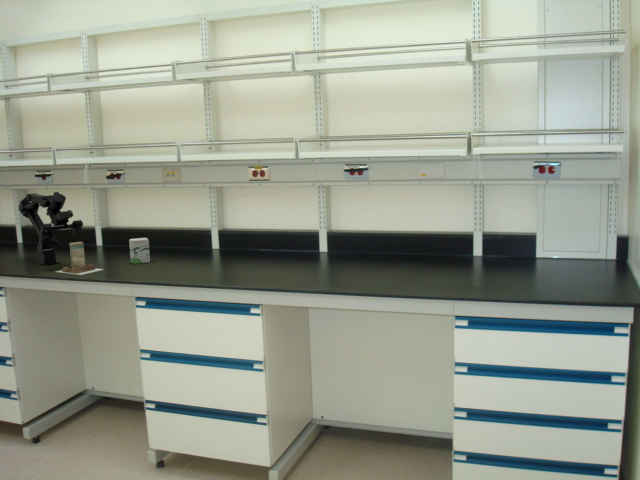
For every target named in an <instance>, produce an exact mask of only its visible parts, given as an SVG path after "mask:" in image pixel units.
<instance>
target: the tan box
mask: <svg viewBox="0 0 640 480" xmlns="http://www.w3.org/2000/svg"><path fill="white" fill-rule="evenodd" d="M69 251H70V252H69V253H70V263H71V264H70V266H72V268H75V269H78V268H82V267H85V264H86V259H85V258H86V257H85V246H84V242H82V241H77V242H76V241H75V242H69Z"/></svg>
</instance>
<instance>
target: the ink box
mask: <svg viewBox="0 0 640 480" xmlns="http://www.w3.org/2000/svg"><path fill="white" fill-rule="evenodd" d="M128 244H129V259H130V260H129V261H130V264H133V265H135V264H136V265H137V264H144V263H145V264H146V263H150V262H151V257H150V255H151V254H150V240H149V238H148V237H138V238H130V239H129V240H128Z"/></svg>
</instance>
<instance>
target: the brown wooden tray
mask: <svg viewBox="0 0 640 480" xmlns="http://www.w3.org/2000/svg"><path fill="white" fill-rule="evenodd" d="M95 266H96V265H95V264H86V263H85V267H82V268H78V269H75V268H72V265H68V266H63V267H61V270H62V272H67V273H66V274H69V273H75V274H74V275H77V274H78V273H82V272H86V271H91V270H95V268H96V267H95Z"/></svg>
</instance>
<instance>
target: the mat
mask: <svg viewBox="0 0 640 480" xmlns="http://www.w3.org/2000/svg"><path fill="white" fill-rule="evenodd" d="M103 270H105V268H104V269H103V268H96V267H95V270H91V271H86V272H82V273H78V274H75V273H67V272H62V269H61V270H60V269H59V270H56V271H54V272H55V273H60V274H61V273H63V274H71V275H79V276H82V275H87V274H91V273H96V272H99V271H103Z"/></svg>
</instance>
